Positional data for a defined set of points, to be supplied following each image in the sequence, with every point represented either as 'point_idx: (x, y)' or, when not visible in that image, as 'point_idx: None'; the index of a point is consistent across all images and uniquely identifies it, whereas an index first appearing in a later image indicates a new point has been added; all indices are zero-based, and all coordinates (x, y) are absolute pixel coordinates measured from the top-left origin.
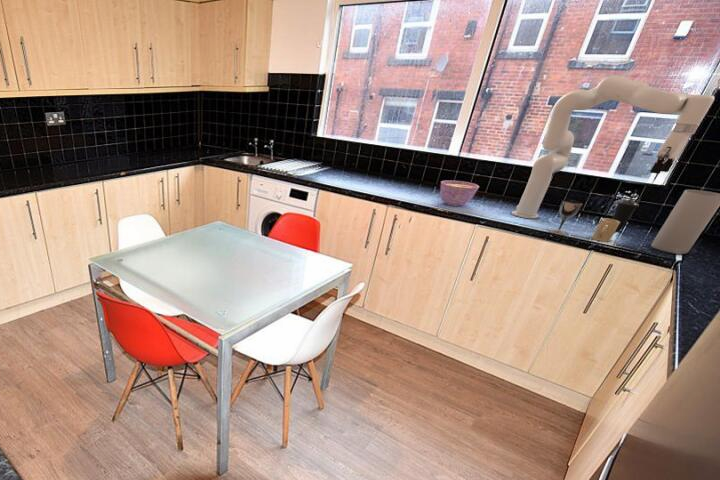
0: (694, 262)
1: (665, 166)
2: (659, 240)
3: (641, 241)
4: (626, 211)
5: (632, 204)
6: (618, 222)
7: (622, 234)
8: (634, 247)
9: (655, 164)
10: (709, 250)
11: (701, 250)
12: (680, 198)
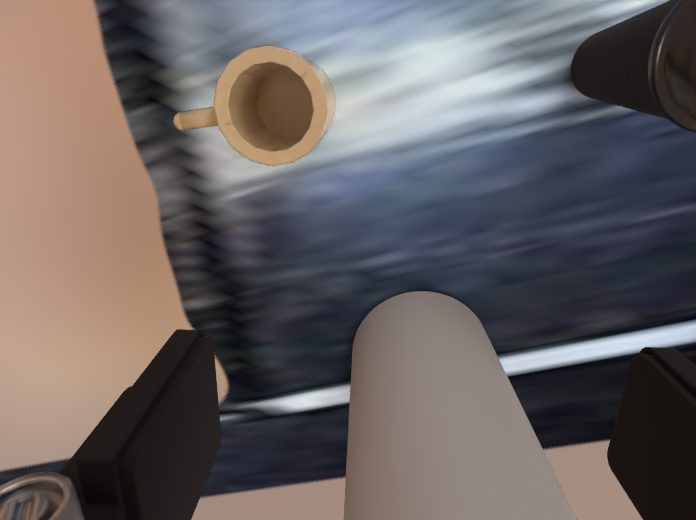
0: (310, 442)
1: (677, 475)
2: (365, 334)
3: (468, 240)
4: (631, 86)
5: (674, 99)
6: (261, 160)
7: (540, 133)
8: (302, 256)
9: (105, 449)
10: (590, 437)
11: (556, 421)
12: (418, 479)
